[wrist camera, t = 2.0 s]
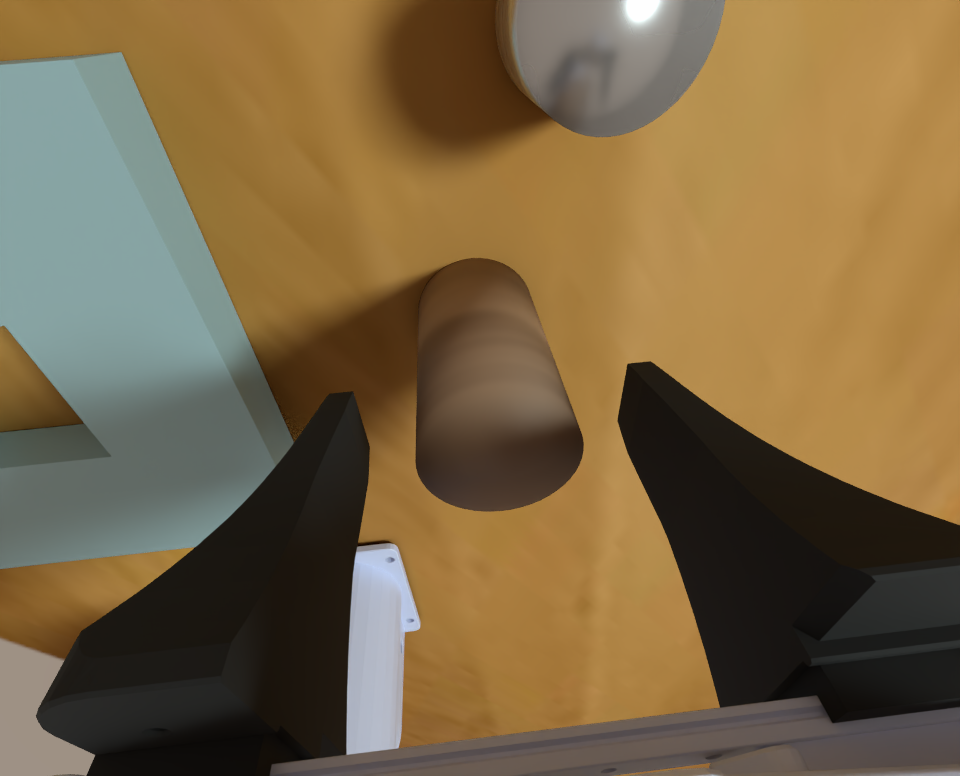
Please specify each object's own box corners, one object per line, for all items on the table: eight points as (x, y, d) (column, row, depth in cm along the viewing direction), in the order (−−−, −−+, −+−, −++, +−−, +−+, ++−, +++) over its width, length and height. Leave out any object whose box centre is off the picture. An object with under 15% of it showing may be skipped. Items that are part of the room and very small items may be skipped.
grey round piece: (641, 104, 13) (698, 129, 10) (497, 116, 13) (517, 144, 10) (669, -104, 10) (755, -143, 8) (491, -91, 10) (515, -128, 8)
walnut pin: (530, 352, 18) (577, 502, 12) (426, 363, 18) (427, 519, 12) (532, 252, 15) (591, 386, 10) (410, 263, 15) (403, 405, 10)
